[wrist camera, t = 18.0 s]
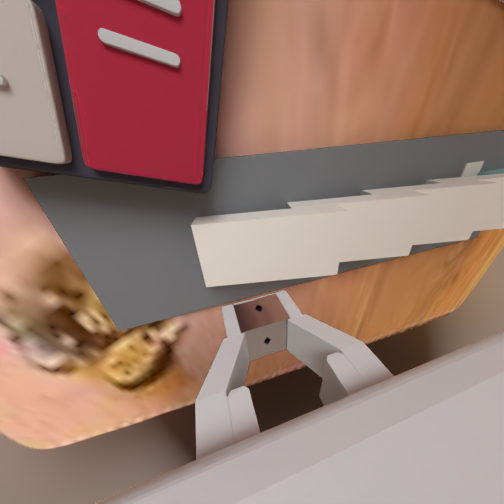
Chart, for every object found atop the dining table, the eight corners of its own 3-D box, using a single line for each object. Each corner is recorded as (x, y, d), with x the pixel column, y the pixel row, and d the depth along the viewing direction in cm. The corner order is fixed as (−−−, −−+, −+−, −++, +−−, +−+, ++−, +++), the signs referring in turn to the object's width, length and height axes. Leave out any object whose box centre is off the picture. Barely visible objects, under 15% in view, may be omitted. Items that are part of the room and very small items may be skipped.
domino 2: (290, 266, 16) (408, 255, 16) (291, 208, 13) (431, 195, 14) (286, 257, 17) (394, 246, 17) (286, 202, 15) (413, 190, 15)
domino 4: (421, 235, 19) (522, 226, 19) (442, 182, 16) (558, 172, 16) (409, 229, 20) (503, 221, 20) (426, 179, 18) (533, 170, 18)
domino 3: (360, 250, 17) (468, 239, 17) (373, 194, 15) (498, 182, 15) (351, 242, 19) (451, 233, 19) (361, 190, 16) (476, 179, 16)
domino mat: (33, 176, 11) (21, 178, 10) (525, 127, 19) (539, 126, 19) (121, 323, 16) (118, 332, 16) (469, 234, 25) (477, 237, 24)
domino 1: (206, 287, 14) (337, 274, 14) (190, 225, 12) (348, 210, 12) (209, 274, 16) (328, 263, 16) (195, 217, 13) (336, 204, 13)
